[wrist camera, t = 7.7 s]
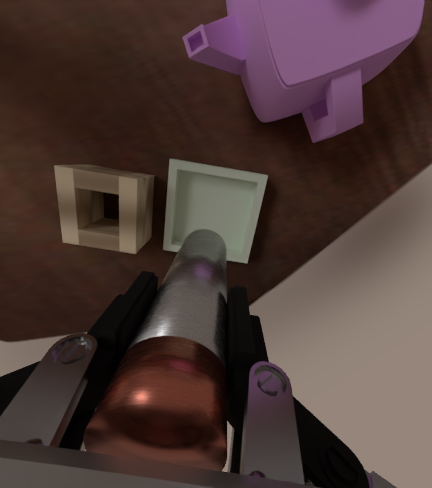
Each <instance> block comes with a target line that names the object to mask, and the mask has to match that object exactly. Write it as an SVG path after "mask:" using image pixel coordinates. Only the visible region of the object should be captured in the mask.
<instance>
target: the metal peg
mask: <svg viewBox="0 0 432 488" xmlns="http://www.w3.org/2000/svg"><path fill="white" fill-rule="evenodd" d="M84 446H85V449H86V451H87V452H94V453H101V454H107V455H114V456H121V457H128V458H135V459H142V460H149V461H156V462H162V463H169V464H176V465H183V466H190V467H196V468H203V469H209V470H216V471H222V469H223V468H224V466H225V464H226V460H227V279H226V244H225V242H224V240H223V238H222V237H221V236H220V235H219V234H218V233H216V232H214V231H212V230H209V229H198V230H195V231H193V232H191V233H190V234H189V235H188V236H187V237H186V238H185V240H184V242H183V244H182V246H181V248H180V249H179V251H178V253H177V255H176V257H175V259H174V261H173V263H172V265H171V267H170V269H169V270H168V272H167V274H166V276H165V278H164V280H163V282H162V284H161V286H160V288H159V290H158V292H157V293H156V295H155V297H154V299H153V301H152V303H151V305H150V307H149V309H148V311H147V313H146V314H145V316H144V318H143V320H142V322H141V324H140V326H139V328H138V330H137V332H136V334H135V336H134V337H133V339H132V341H131V343H130V345H129V347H128V349H127V351H126V353H125V355H124V357H123V358H122V360H121V362H120V364H119V366H118V368H117V370H116V372H115V374H114V376H113V378H112V380H111V381H110V383H109V385H108V387H107V389H106V391H105V393H104V395H103V397H102V399H101V401H100V402H99V404H98V406H97V408H96V410H95V412H94V414H93V416H92V418H91V420H90V422H89V424H88V425H87V427H86V429H85V432H84Z"/></svg>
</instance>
